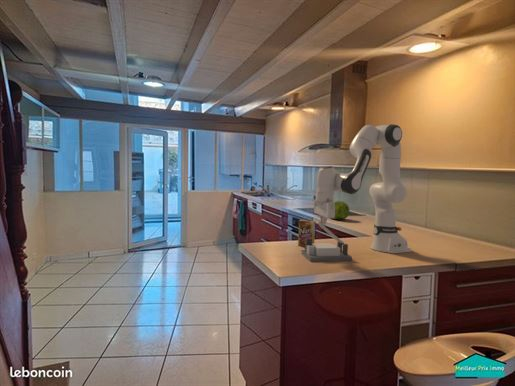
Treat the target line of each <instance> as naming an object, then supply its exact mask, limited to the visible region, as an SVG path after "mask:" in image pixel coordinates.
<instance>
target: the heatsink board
mask: <svg viewBox="0 0 515 386" xmlns="http://www.w3.org/2000/svg"><path fill="white" fill-rule="evenodd" d="M348 252H349V244H348V243H344V244H343V245H342V244H340V243H339V242H338V241H337V245H336V244H334V243H333V242H332V243H329V242H328V243H327V242H326V243H325V242H323V243H321V242H320V243H319V242H317V243H314V244H312V239H311V238H305V247H304V249H301V255H302V256H303V257H304V258H305V259H307V260H308V261H309V262H331V261H332V262H340V261H341V262H342V261H343V262H345V261H346V262H347V261H352V260H353V258H352V257H353V256H352V255H350V254H348Z"/></svg>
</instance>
